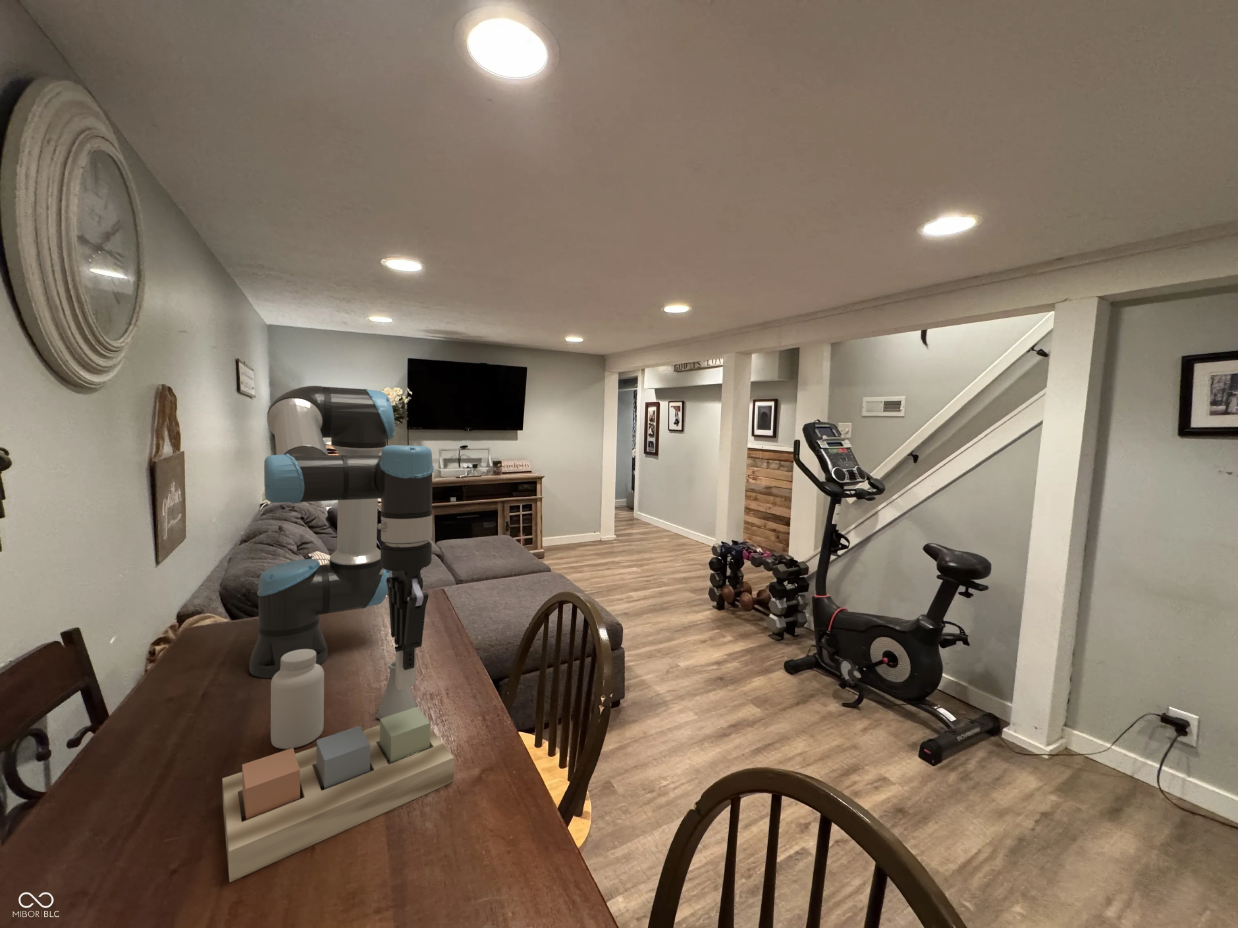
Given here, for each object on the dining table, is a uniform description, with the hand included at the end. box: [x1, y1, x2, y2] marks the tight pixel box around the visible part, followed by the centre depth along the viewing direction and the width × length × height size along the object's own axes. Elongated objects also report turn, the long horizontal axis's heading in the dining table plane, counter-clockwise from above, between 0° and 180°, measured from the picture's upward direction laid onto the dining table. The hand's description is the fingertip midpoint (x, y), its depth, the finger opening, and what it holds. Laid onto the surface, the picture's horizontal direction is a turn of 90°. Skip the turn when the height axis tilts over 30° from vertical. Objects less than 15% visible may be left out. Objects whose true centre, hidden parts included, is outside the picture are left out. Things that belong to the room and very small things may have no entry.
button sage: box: [379, 706, 431, 764], centre depth 80 cm, size 6×6×4 cm
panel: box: [221, 724, 455, 883], centre depth 75 cm, size 16×28×4 cm, turn 131°
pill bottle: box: [270, 649, 325, 750], centre depth 87 cm, size 8×8×15 cm
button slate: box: [316, 725, 370, 789], centre depth 74 cm, size 6×6×4 cm
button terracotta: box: [241, 748, 300, 820], centre depth 69 cm, size 6×6×4 cm
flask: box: [375, 659, 419, 720], centre depth 96 cm, size 7×7×10 cm
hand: (405, 685), depth 80 cm, fingers closed
